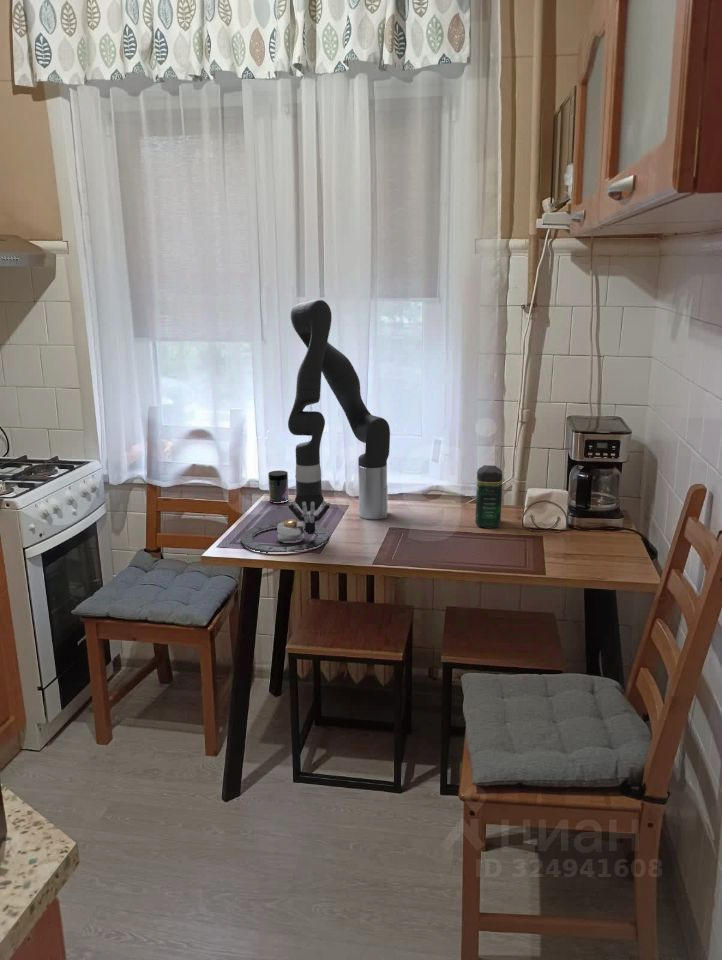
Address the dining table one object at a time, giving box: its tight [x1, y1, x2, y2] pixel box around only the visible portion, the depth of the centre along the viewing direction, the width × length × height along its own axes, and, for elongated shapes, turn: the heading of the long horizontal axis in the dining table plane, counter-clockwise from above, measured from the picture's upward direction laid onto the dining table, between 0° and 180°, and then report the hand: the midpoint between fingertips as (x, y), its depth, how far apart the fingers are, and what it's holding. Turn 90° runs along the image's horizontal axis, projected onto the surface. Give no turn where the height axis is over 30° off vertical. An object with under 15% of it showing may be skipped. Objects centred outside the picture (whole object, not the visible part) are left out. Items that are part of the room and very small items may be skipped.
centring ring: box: [240, 521, 330, 553], centre depth 239 cm, size 26×26×1 cm
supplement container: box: [267, 470, 289, 502], centre depth 275 cm, size 7×7×10 cm
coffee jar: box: [475, 464, 503, 529], centre depth 247 cm, size 10×8×19 cm
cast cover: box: [276, 518, 305, 541], centre depth 238 cm, size 8×8×6 cm
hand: (310, 533), depth 238 cm, fingers closed
